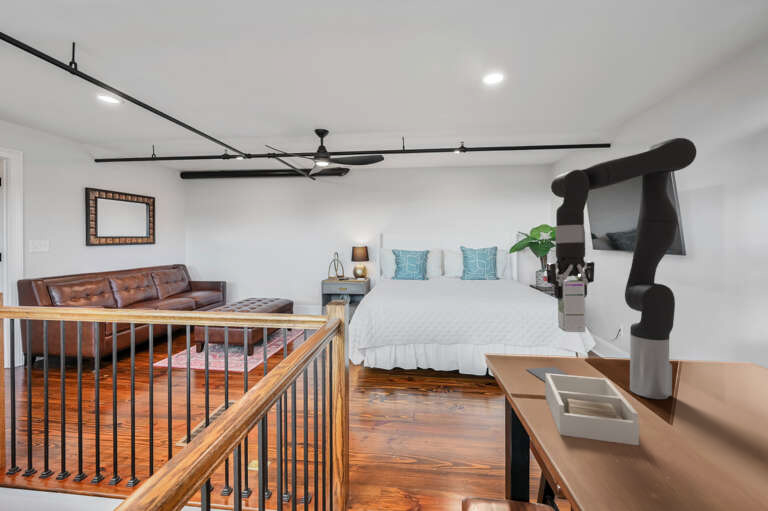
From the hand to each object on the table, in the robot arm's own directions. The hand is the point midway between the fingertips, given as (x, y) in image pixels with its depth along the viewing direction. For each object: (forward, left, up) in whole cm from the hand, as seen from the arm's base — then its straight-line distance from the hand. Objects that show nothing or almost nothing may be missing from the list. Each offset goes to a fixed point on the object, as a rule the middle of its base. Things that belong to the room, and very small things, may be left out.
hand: (570, 297), depth 99 cm
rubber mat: (-5, -17, -29) cm, 34 cm away
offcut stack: (+7, +16, -29) cm, 34 cm away
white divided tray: (+4, +11, -29) cm, 32 cm away
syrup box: (0, 0, -10) cm, 10 cm away
